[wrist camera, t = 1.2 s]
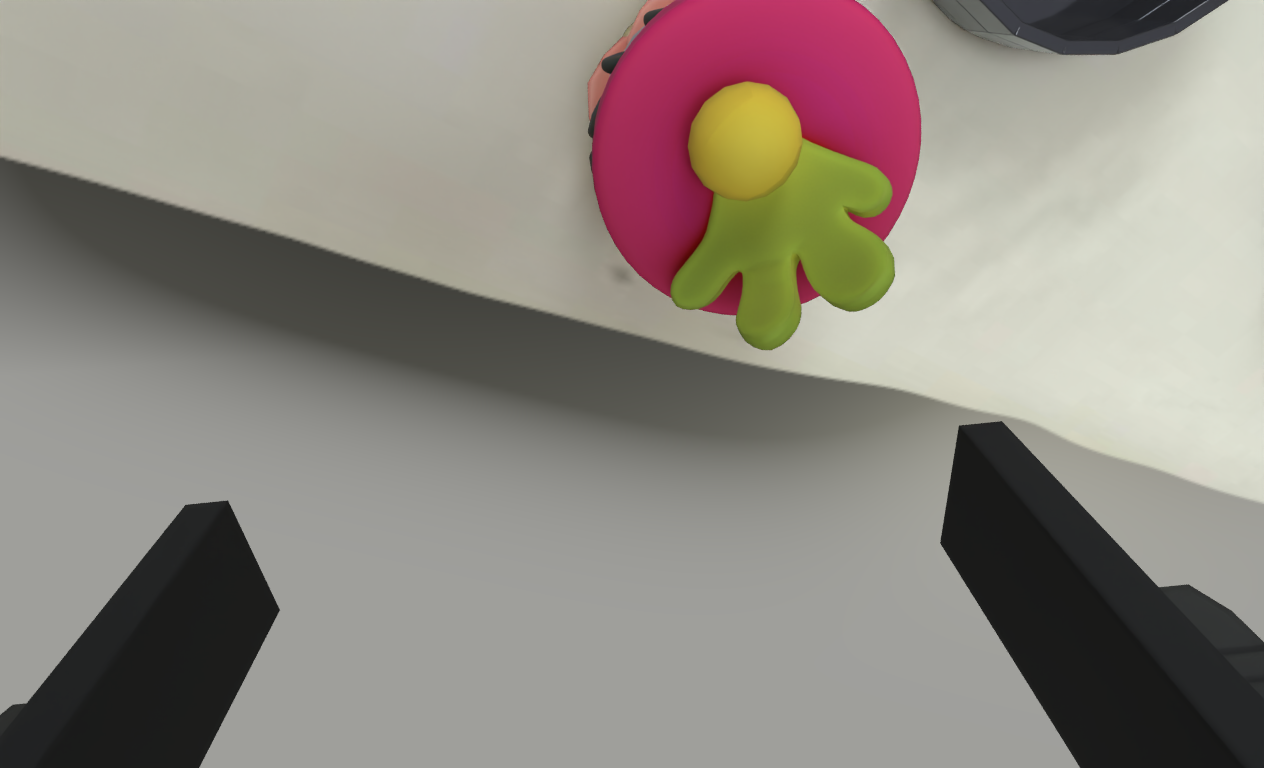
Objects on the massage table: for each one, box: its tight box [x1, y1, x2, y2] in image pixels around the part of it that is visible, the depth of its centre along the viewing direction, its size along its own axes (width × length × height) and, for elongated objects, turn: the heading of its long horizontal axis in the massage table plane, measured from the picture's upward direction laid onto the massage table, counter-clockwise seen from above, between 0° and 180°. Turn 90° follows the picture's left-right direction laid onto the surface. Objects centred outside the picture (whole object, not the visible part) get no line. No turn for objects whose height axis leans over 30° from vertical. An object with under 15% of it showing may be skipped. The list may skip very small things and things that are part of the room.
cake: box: [588, 0, 921, 350], centre depth 24 cm, size 10×10×15 cm
